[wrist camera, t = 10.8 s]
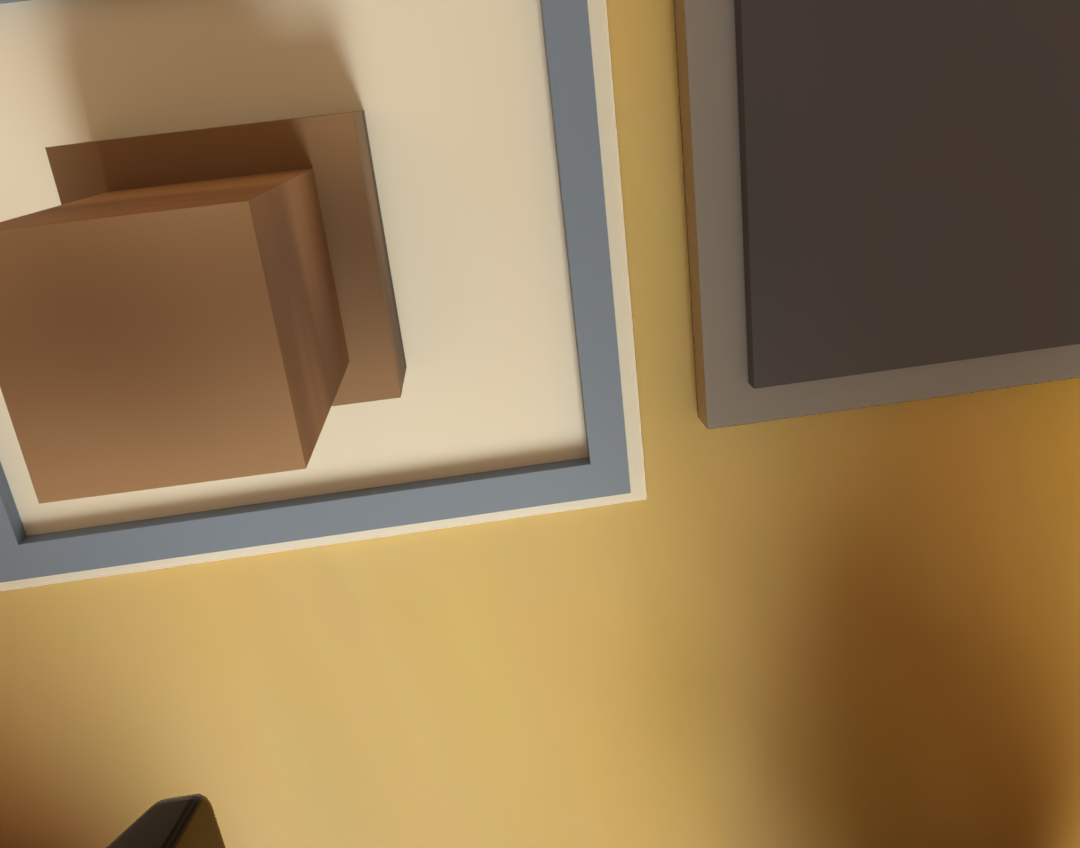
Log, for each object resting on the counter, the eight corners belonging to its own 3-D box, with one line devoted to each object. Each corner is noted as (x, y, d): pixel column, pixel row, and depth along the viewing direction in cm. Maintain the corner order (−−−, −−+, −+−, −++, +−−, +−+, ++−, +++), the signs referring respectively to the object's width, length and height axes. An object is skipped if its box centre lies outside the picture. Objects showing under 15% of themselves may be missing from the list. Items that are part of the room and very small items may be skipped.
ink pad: (1184, 348, 20) (1227, 363, 19) (698, 416, 20) (712, 436, 19) (1266, -238, 16) (1326, -263, 15) (664, -170, 16) (679, -190, 15)
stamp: (406, 366, 19) (377, 516, 12) (160, 397, 18) (-6, 566, 12) (363, 110, 17) (303, 120, 10) (91, 141, 17) (-148, 172, 10)
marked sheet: (645, 495, 20) (650, 506, 20) (-8, 588, 20) (-22, 603, 19) (592, -142, 16) (597, -151, 15) (-247, -46, 15) (-274, -51, 15)
